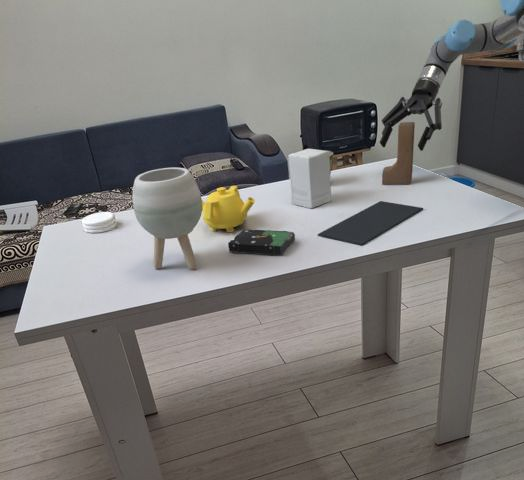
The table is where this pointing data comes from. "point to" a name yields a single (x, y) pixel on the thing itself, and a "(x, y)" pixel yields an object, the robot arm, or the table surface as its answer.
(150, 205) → the planter
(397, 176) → the wooden block
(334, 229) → the mat
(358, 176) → the table surface
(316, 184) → the white product box
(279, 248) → the disk drive
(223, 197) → the teapot
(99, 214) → the coaster
